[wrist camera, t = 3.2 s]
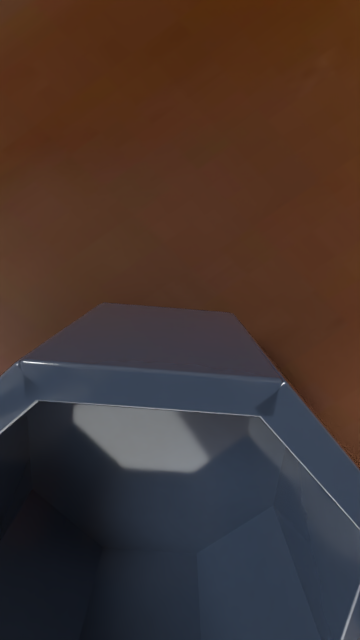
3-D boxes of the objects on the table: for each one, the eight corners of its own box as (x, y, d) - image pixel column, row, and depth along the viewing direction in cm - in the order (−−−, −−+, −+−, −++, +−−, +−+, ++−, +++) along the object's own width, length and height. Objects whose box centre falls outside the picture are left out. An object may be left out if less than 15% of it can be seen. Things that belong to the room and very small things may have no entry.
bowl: (9, 294, 10) (-178, 345, 5) (322, 319, 10) (471, 394, 5) (31, 572, 13) (-63, 775, 8) (264, 586, 13) (315, 794, 8)
